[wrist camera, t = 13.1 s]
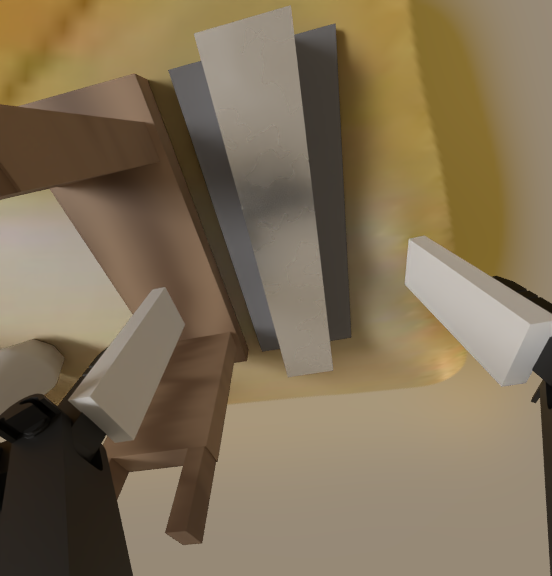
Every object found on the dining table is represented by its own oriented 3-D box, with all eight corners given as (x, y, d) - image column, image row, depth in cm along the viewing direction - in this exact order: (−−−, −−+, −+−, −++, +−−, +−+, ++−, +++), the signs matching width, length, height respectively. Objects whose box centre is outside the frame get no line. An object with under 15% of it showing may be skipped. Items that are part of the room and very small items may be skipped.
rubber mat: (262, 347, 25) (262, 351, 24) (172, 72, 13) (168, 70, 13) (349, 333, 24) (351, 337, 24) (332, 28, 13) (335, 23, 12)
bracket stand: (176, 361, 26) (89, 563, 14) (22, 114, 14) (-1461, -27, 2) (248, 349, 25) (226, 552, 13) (147, 79, 14) (-998, -459, 1)
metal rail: (285, 347, 24) (287, 377, 21) (211, 57, 13) (193, 33, 10) (325, 341, 24) (333, 370, 21) (286, 37, 12) (290, 5, 9)
